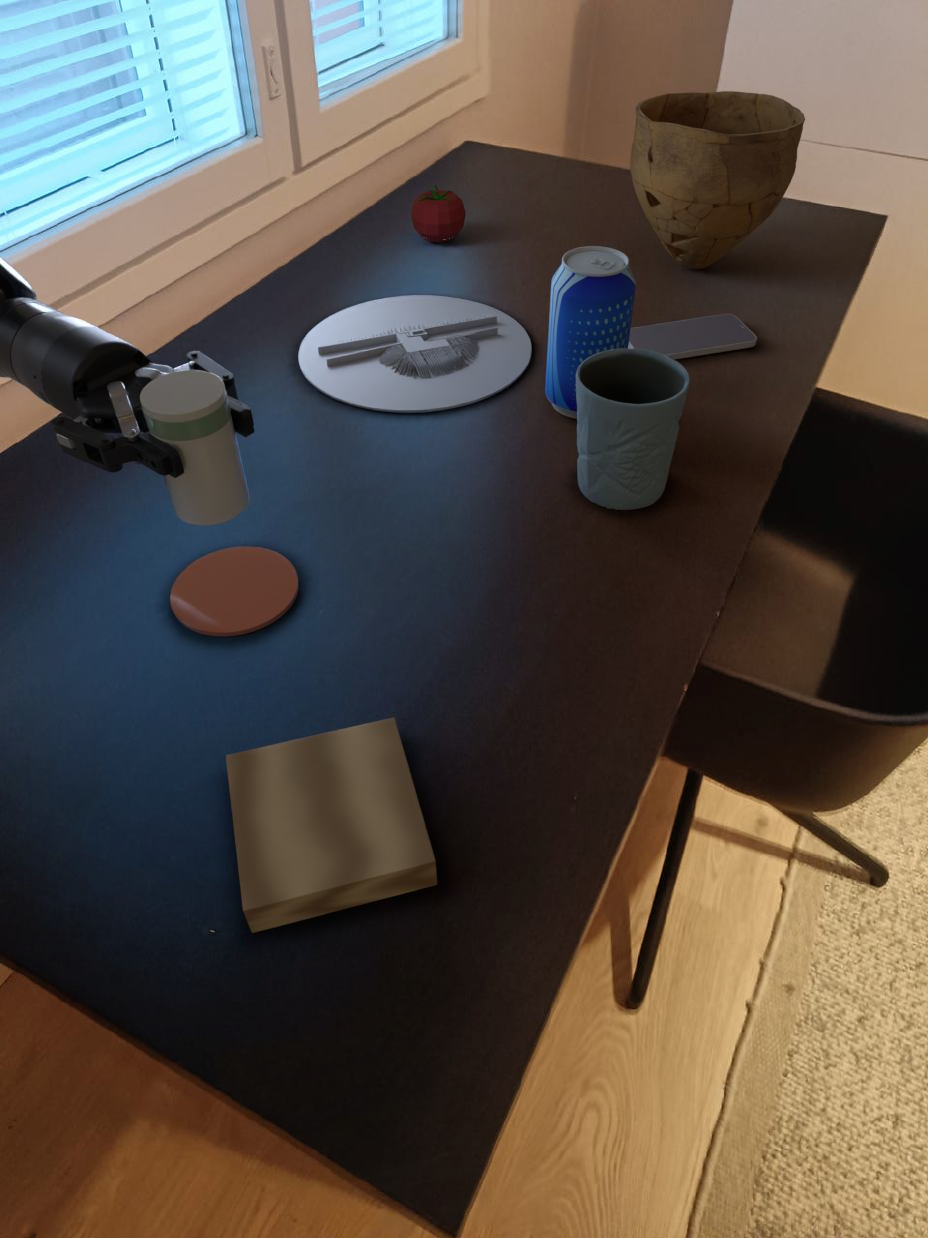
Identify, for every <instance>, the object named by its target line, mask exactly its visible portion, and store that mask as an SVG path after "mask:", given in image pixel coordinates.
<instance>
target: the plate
mask: <svg viewBox="0 0 928 1238" xmlns="http://www.w3.org/2000/svg"><path fill="white" fill-rule="evenodd" d="M297 357H298V364H299V368H300V371H301V373H302V375H303V376H304V378H305V379H306V381H307V382H308V383H309V384H311V386H313V387H314V388H315V389H316V390H318V391H319V392H321V393H322V394H324V395H326V396H327V397H329V398H331V399H333V400H336V401H339V402H341V403H344V404H347V405H350V406H353V407H357V408H362V409H367V410H372V411H378V412H385V413H386V412H388V413H398V414H399V413H406V414H408V413H429V412H430V413H431V412H437V411H438V412H439V411H445V410H452V409H457V408H460V407H465V406H468V405H471V404H475V403H478V402H480V401H482V400H483V401H484V400H485V399H488V398H490V397H493V396H494V395H496V394H498V393H500V392H502V391H504V390H505V389H508V388H509V386H511V385H513V383H515V382H516V381H517V380H518V379H519V378H520V377H521V376H522V375H523V373H524V372H525V371H526V370H527V368H528V366H529V365H530V361H531V358H532V342H531V338H530V336H529V334H528V333H527V331H526V330H525V328H524V327H523V326H522V325H521V324H520V323H519V322H518V321H517V320H515V318H513V317H512V316H510V315H508V314H507V313H505V312H504V311H501V310H499V309H497V308H495V307H492V306H490V305H487V304H483V303H481V302H477V301H473V300H469V299H465V298H464V299H463V298H459V297H452V296H446V295H445V296H444V295H443V296H442V295H433V294H432V295H430V294H429V295H428V294H413V295H411V294H410V295H398V296H389V297H384V298H378V299H377V298H376V299H374V300H369V301H365V302H361V303H358V304H355V305H352V306H349V307H346V308H344V309H342V310H339V311H337V312H335V313H333V314H332V315H329V316H328V317H326V318H324V319H323V320H322V321H320V322H319V323H318V324H316V325H315V326H314V327H313V328H312V329H311V330H309V331H308V332H307V334H306V335H305V337H304V338H303V339H302V341H301V343H300V346H299V350H298V355H297Z"/></svg>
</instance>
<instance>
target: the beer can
mask: <svg viewBox="0 0 928 1238" xmlns="http://www.w3.org/2000/svg"><path fill="white" fill-rule="evenodd" d="M636 287H637V282H636V279H635V277H634V274H633V273H632V270H631V269H630V258H629V257H628V256H627V254H625V253H624V252H622V251H620V250H618V249H615V248H613V247H606V246H600V245H586V246H580V247H576V248H573V249H570V250H568V251H567V252H565V253H564V254H563V256H562V258H561V264H560V266H559V267H558V268H557V269H556V271H555V272H554V274H553V275H552V278H551V283H550V297H549V298H550V300H549V301H550V302H549V318H548V332H547V333H548V337H547V353H546V368H545V369H546V370H545V388H544V391H545V392H544V393H545V396H546V398H547V400H548V401H549V402H550V403H551V407H552V408H553V409H554V410H555V411H556V412H558V414H561V415H562V416H565V417H568V418H571V419H575V420H577V400H576V371H577V369H578V367H579V366H580V364H581V363H582V362H583V361H584V360H585V359H587V358H588V357H590V356H592V355H594V354H597V353H600V352H603V351H607V350H613V349H623V348H628V344H629V336H630V328H632V319H633V312H634V304H635V295H636ZM628 349H629V348H628Z"/></svg>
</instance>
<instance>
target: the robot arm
mask: <svg viewBox="0 0 928 1238" xmlns="http://www.w3.org/2000/svg"><path fill="white" fill-rule="evenodd" d="M186 360H187V363H184V364H182V365H180V366H179V365H178V366H176V367H174V368H173V367H171V366H170V365H166V364H165V365H164V364H159V363H154V362H153V361H152V360H151V359H149V358H148V356H147V355H145V354H144V352H143V351H142V350H140V349H139V348H138V347H137V346H135V345H134V344H131V343H129V342H127V341H126V340H123V339H121V338H119V337H117V336H116V335H113V334H112V333H109V332H107V331H106V330H103V329H101V328H100V327H97V326H96V325H94V324H91V323H89V322H87V321H86V320H84V319H82V318H78V317H75V316H71V315H67V314H65V313H64V312H61V311H59V310H57V309H55V308H53V307H52V306H49V305H48V304H46V303H44V302H42V301H39V300H38V297H37V293H36V292H35V289H34V288H33V287H32V285H31V284H30V282H29V281H28V280H27V279H26V278H25V277H24V276H23V275H22V273H20V272H19V271H18V270H17V269H15V268H14V267H13V266H12V265H11V264H10V263H9V262H7V260H5V259H4V258H3V257H2V256H0V378H5V379H11V380H13V381H14V382H17V384H19V385H21V386H23V387H25V388H27V390H29V392H31V393H32V394H34V395H35V396H36V397H37V398H38V399H39V400H41V401H42V402H44V403H46V404H47V405H49V406H51V407H52V408H54V409H56V410H57V411H59V412H61V413H62V414H64V415H65V416H58V417H55V418H53V419H52V420H51V422H50V423H51V427H52V429H53V431H54V433H55V436H56V439H57V442H58V444H59V446H60V449H61V451H62V453H63V454H67V455H68V456H71V457H74V458H76V459H78V460H81V461H82V462H85V463H87V464H90V465H91V466H94V467H97V468H98V469H101V470H103V471H106V472H108V473H113V474H114V473H117V472H120V471H121V470H123V468H124V465H123V464H127V463H130V462H132V464H134V465H142V466H144V467H146V468H148V469H149V470H151V471H153V472H154V473H156V474H158V475H160V476H163V475H164V476H167V475H168V474H169V475H170V476H172V477H174V478H177V477H179V476H180V475H182V474H184V468H183V465H182V461H181V458H180V455H179V453H178V451H177V450H176V449H175V448H173V447H172V446H170V445H168V444H166V443H165V442H163V441H161V440H159V439H157V438H156V437H154V436H152V435H151V434H150V431H149V429H148V427H147V424H146V421H145V418H144V414H143V411H142V407H141V402H140V394H141V391H142V390H143V388H144V387H145V386H146V385H147V384H148V383H150V382H151V381H153V380H154V379H156V378H158V377H160V376H163V375H166V374H169V373H172V372H177V371H184V370H200V371H206V372H210V373H213V374H215V375H217V376H218V377H220V378H221V379H222V381H223V382H224V385H225V389H226V391H227V394H228V399H229V403H230V408H231V415H232V419H233V424H234V428H235V433H236V434H238V435H240V436H242V437H243V438H248V437H250V436H251V435H253V434H255V427H254V426H255V422H254V418H253V417H254V416H253V412H252V409H251V407H250V406H249V405H247V404H246V403H243V402H242V401H240V398H239V396H238V392H237V387H236V379H235V376H234V374H233V373H232V372H231V371H229V370H228V369H226V368H224V367H223V365H220V364H219V363H217V362H215V360H213V359H212V358H210V357H209V356H207V355H206V354H204V353H203V352H202V351H200V350H193V351H189V352H188V353H187V354H186ZM66 416H67V417H66ZM110 434H122V436H120V437H116V438H114V437H113V435H110Z"/></svg>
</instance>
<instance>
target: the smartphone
mask: <svg viewBox="0 0 928 1238" xmlns="http://www.w3.org/2000/svg"><path fill="white" fill-rule="evenodd" d="M757 340H758V337H757V335H756V334H755V333H754V332H753V331H752V330H751V329H749V327H748V326H747V325H746V324H744V323H743V321H742V320H741V319H739V317H737V316H736V315H734V314H732V313H722V314H714V315H709V316H708V315H707V316H701V317H695V318H688V319H682V320H676V321H668V322H663V323H661V322H660V323H656V324H650V325H642V326H635V327H631V328H630V336H629V344H628V349H643V350H649V351H654V352H658V353H661V354H663V355H665V356H667V357H669V358H671V359H673V360H680V359H686V358H693V357H697V356H698V357H699V356H704V355H705V356H706V355H711V354H717V353H724V352H731V351H735V350H736V351H737V350H741V349H750V348H753V347H755V346H756V344H757Z"/></svg>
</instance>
